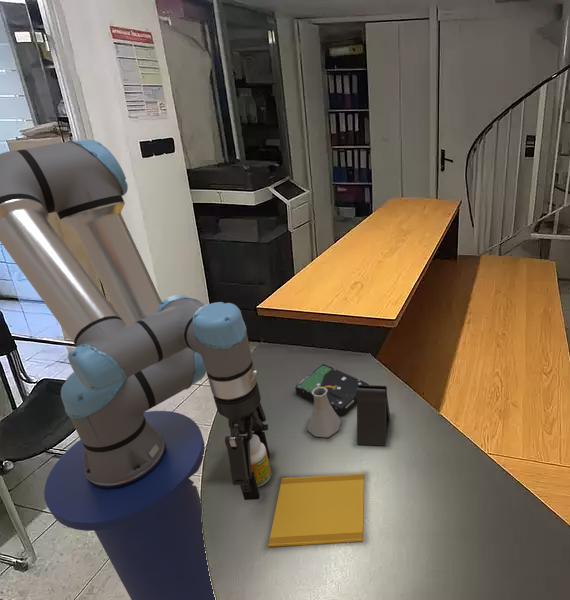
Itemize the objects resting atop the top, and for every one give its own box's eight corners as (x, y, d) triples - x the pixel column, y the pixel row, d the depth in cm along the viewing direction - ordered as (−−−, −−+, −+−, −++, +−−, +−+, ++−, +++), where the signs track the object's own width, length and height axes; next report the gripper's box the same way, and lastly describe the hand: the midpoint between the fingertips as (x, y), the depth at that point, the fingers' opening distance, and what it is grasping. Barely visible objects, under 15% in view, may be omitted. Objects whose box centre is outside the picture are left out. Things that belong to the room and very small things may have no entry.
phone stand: (385, 446, 101) (382, 402, 95) (357, 444, 102) (352, 401, 96) (390, 416, 109) (388, 374, 103) (364, 415, 109) (360, 373, 103)
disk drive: (370, 392, 116) (323, 371, 124) (369, 383, 115) (322, 362, 122) (342, 418, 109) (295, 394, 116) (341, 408, 108) (293, 385, 115)
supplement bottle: (264, 490, 92) (255, 454, 88) (238, 486, 93) (228, 450, 88) (275, 467, 97) (267, 432, 92) (250, 464, 98) (241, 429, 93)
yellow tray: (268, 547, 82) (268, 545, 82) (282, 479, 94) (281, 477, 94) (362, 541, 83) (362, 539, 82) (364, 475, 95) (364, 473, 94)
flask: (320, 411, 111) (315, 376, 106) (347, 420, 108) (343, 385, 103) (301, 432, 105) (295, 397, 100) (329, 442, 102) (324, 406, 98)
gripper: (241, 432, 74) (266, 525, 85) (268, 349, 94) (285, 434, 105) (192, 435, 74) (223, 528, 85) (229, 351, 93) (250, 436, 104)
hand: (257, 476), depth 95 cm, fingers open, 9 cm apart
